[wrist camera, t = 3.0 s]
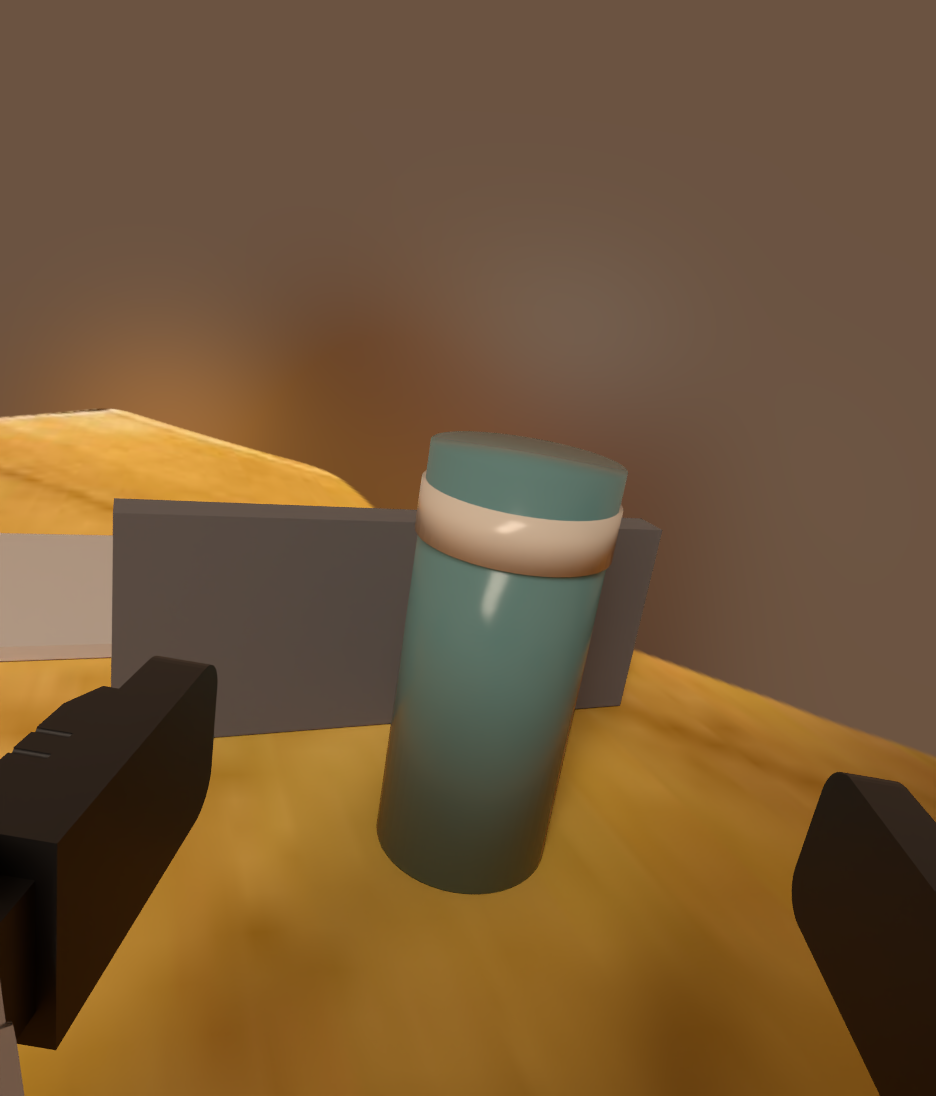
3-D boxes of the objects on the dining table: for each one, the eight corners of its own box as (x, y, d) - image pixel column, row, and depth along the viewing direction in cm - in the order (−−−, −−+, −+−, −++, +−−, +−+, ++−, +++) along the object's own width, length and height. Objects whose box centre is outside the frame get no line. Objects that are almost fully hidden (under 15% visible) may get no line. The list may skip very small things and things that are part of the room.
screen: (601, 688, 35) (641, 518, 32) (619, 705, 33) (662, 530, 31) (111, 721, 27) (114, 498, 24) (110, 745, 25) (113, 512, 23)
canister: (466, 761, 28) (525, 430, 24) (582, 851, 24) (672, 477, 20) (339, 812, 24) (385, 430, 20) (451, 926, 20) (533, 487, 17)
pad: (168, 547, 43) (169, 536, 43) (181, 654, 32) (181, 641, 32) (-117, 542, 38) (-118, 530, 38) (-222, 669, 26) (-225, 653, 26)
